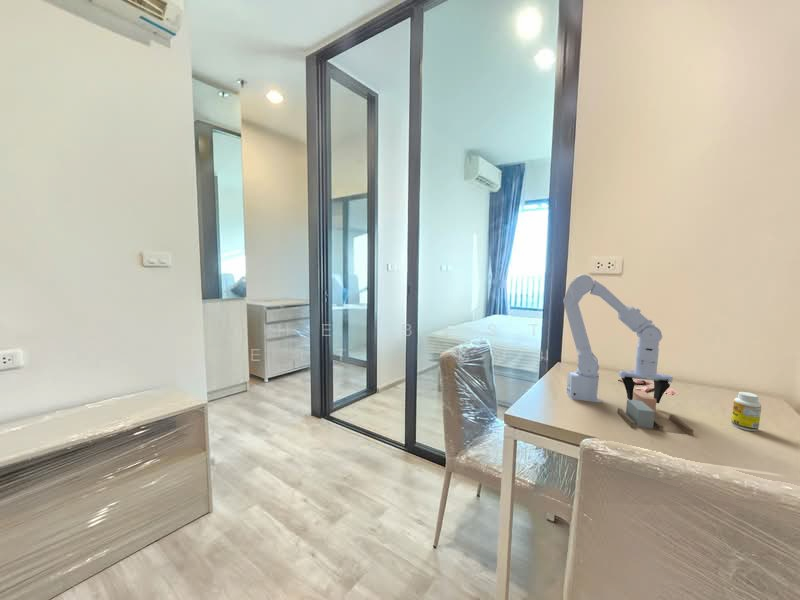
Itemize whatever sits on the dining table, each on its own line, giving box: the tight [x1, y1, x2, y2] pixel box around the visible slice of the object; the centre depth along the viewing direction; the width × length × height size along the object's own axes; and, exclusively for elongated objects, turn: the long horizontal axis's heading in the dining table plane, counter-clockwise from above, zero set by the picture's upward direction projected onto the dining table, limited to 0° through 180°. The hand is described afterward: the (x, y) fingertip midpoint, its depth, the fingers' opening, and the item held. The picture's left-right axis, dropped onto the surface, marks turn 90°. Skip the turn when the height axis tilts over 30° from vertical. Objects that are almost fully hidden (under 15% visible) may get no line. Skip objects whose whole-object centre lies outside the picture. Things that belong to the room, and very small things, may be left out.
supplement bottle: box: [731, 391, 762, 432], centre depth 96 cm, size 6×6×10 cm
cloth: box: [617, 378, 680, 396], centre depth 131 cm, size 20×22×2 cm
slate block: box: [625, 399, 656, 429], centre depth 97 cm, size 4×8×5 cm, turn 165°
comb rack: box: [616, 408, 694, 436], centre depth 97 cm, size 15×10×2 cm, turn 75°
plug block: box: [632, 389, 657, 413], centre depth 109 cm, size 4×8×5 cm, turn 167°
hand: (642, 400), depth 108 cm, fingers open, 7 cm apart
